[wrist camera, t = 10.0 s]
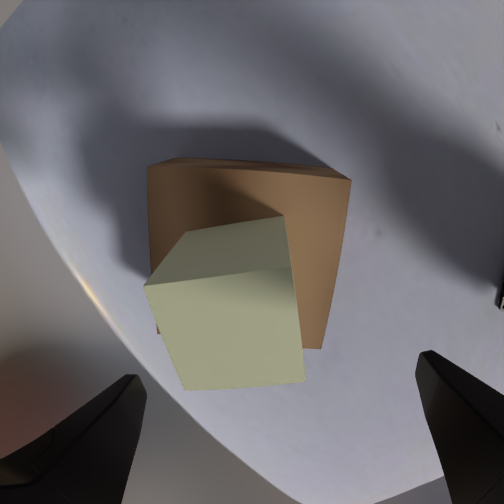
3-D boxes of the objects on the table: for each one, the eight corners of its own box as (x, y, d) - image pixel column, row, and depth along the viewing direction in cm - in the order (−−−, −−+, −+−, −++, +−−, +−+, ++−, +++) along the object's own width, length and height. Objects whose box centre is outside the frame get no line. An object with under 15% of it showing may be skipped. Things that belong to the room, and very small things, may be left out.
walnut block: (332, 168, 19) (351, 180, 14) (312, 306, 23) (321, 348, 18) (176, 157, 19) (147, 166, 15) (178, 295, 23) (157, 333, 18)
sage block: (284, 215, 15) (291, 266, 10) (297, 304, 17) (306, 381, 11) (185, 231, 16) (142, 286, 10) (208, 315, 18) (184, 390, 12)
